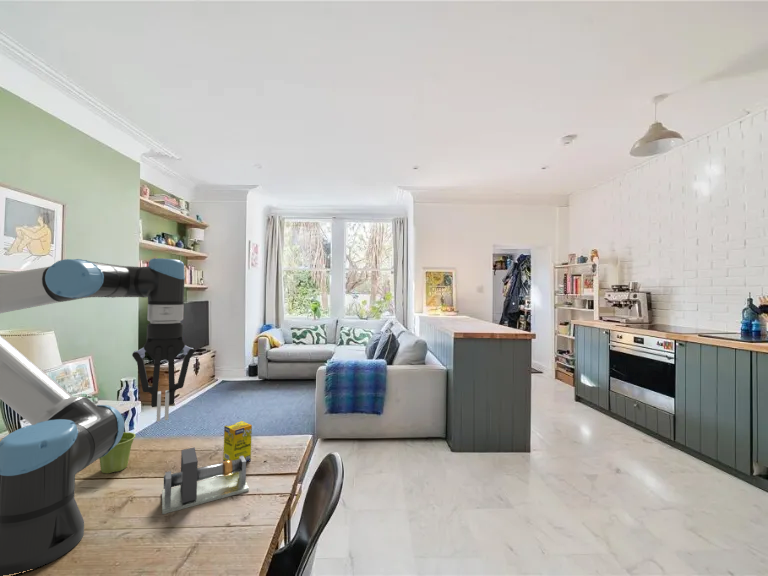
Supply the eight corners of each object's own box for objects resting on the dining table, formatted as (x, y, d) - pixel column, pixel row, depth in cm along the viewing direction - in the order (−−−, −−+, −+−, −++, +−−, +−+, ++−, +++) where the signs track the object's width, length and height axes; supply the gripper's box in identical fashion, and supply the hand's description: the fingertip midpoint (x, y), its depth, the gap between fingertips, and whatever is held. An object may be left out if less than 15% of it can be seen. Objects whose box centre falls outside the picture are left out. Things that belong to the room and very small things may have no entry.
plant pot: (142, 462, 106) (143, 433, 106) (115, 478, 96) (116, 446, 97) (113, 460, 107) (115, 431, 107) (84, 475, 97) (85, 444, 98)
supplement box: (233, 467, 103) (234, 430, 103) (222, 461, 107) (223, 425, 107) (251, 460, 108) (252, 424, 108) (240, 455, 111) (241, 420, 112)
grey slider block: (182, 503, 83) (183, 464, 84) (180, 485, 91) (181, 449, 91) (196, 499, 85) (197, 461, 85) (193, 482, 93) (194, 447, 93)
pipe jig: (162, 514, 81) (163, 484, 81) (162, 493, 89) (162, 466, 89) (248, 491, 91) (249, 464, 91) (241, 474, 99) (241, 450, 100)
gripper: (129, 323, 79) (125, 429, 78) (199, 322, 87) (196, 418, 86) (131, 321, 85) (128, 419, 85) (196, 320, 93) (193, 410, 92)
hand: (162, 418), depth 85 cm, fingers closed
